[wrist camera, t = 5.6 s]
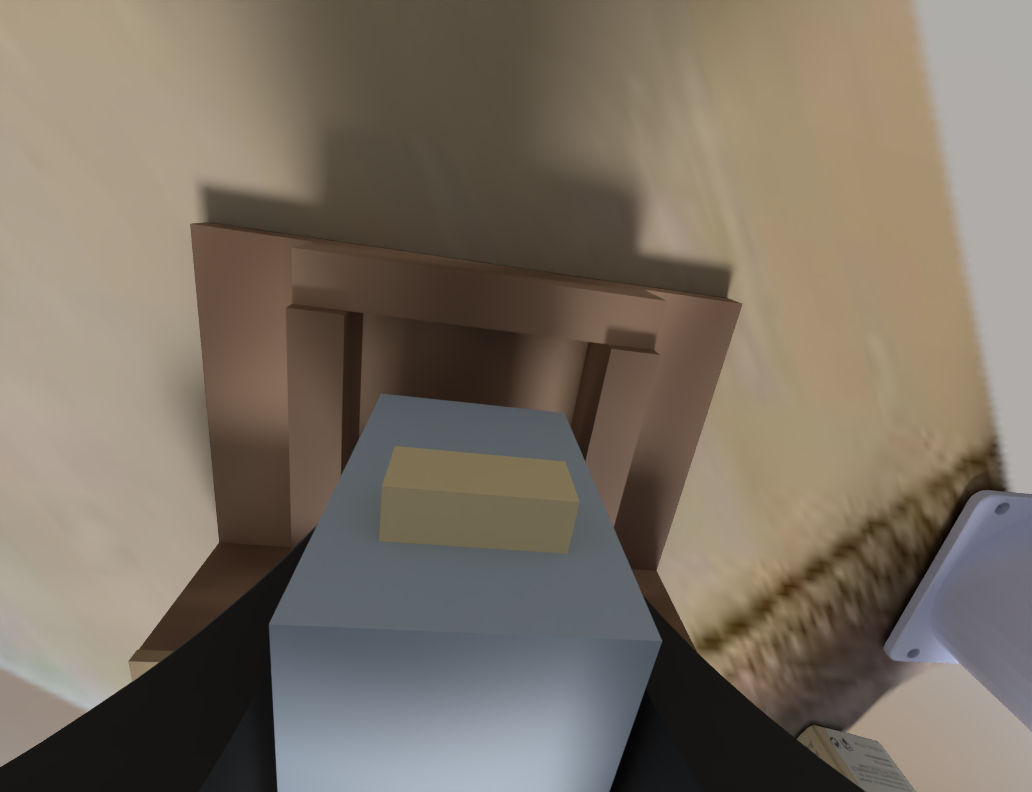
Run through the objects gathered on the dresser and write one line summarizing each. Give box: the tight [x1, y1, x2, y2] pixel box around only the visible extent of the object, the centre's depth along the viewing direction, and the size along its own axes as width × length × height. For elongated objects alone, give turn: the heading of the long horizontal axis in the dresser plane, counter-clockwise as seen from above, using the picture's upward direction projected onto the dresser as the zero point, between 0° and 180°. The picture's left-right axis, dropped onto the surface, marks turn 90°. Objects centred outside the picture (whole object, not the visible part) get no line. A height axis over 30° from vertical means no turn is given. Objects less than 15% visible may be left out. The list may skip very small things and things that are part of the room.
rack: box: [129, 223, 742, 681], centre depth 12 cm, size 14×10×5 cm
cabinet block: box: [269, 394, 662, 792], centre depth 9 cm, size 4×7×6 cm, turn 172°
